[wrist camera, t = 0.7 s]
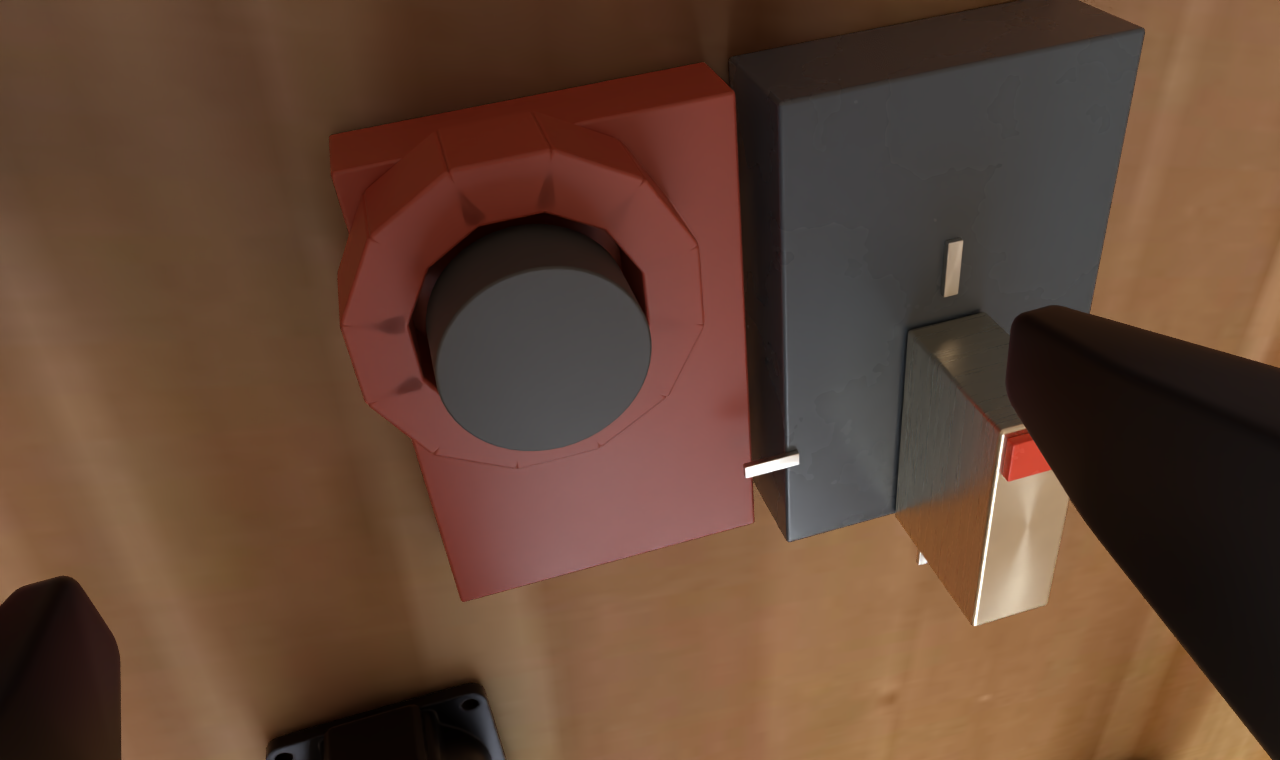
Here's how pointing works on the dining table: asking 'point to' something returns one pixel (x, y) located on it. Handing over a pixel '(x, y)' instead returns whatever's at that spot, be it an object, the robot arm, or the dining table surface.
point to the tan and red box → (975, 473)
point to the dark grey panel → (910, 220)
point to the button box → (652, 265)
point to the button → (536, 338)
